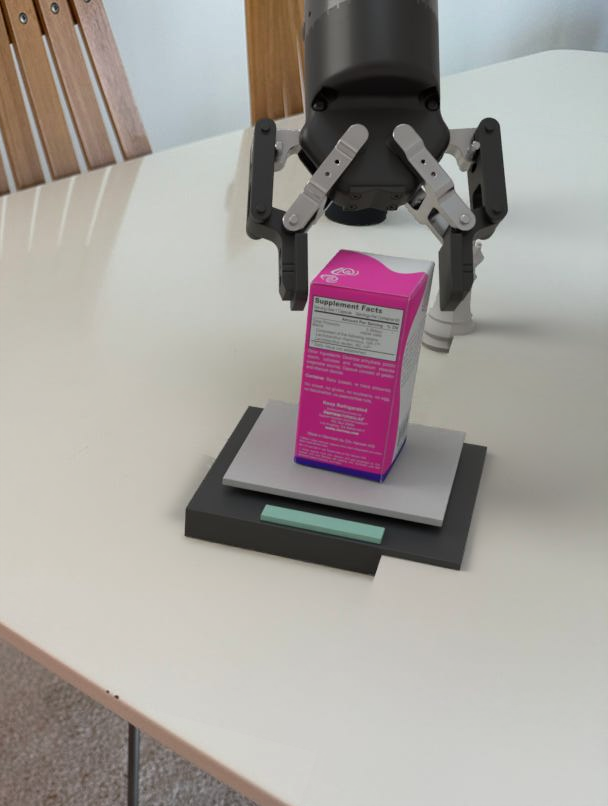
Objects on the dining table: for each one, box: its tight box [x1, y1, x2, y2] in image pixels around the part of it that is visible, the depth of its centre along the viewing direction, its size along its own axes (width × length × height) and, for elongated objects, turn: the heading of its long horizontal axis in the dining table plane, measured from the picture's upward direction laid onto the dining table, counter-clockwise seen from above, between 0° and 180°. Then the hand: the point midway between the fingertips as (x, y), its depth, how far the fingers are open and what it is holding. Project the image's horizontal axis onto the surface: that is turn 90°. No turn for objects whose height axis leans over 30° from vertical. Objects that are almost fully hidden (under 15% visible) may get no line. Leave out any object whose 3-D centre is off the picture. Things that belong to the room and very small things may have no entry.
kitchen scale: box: [183, 399, 488, 576], centre depth 65 cm, size 16×14×3 cm
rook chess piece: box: [421, 240, 485, 354], centre depth 82 cm, size 4×4×8 cm
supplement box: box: [294, 248, 436, 483], centre depth 61 cm, size 6×6×12 cm
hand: (375, 306), depth 58 cm, fingers open, 8 cm apart
